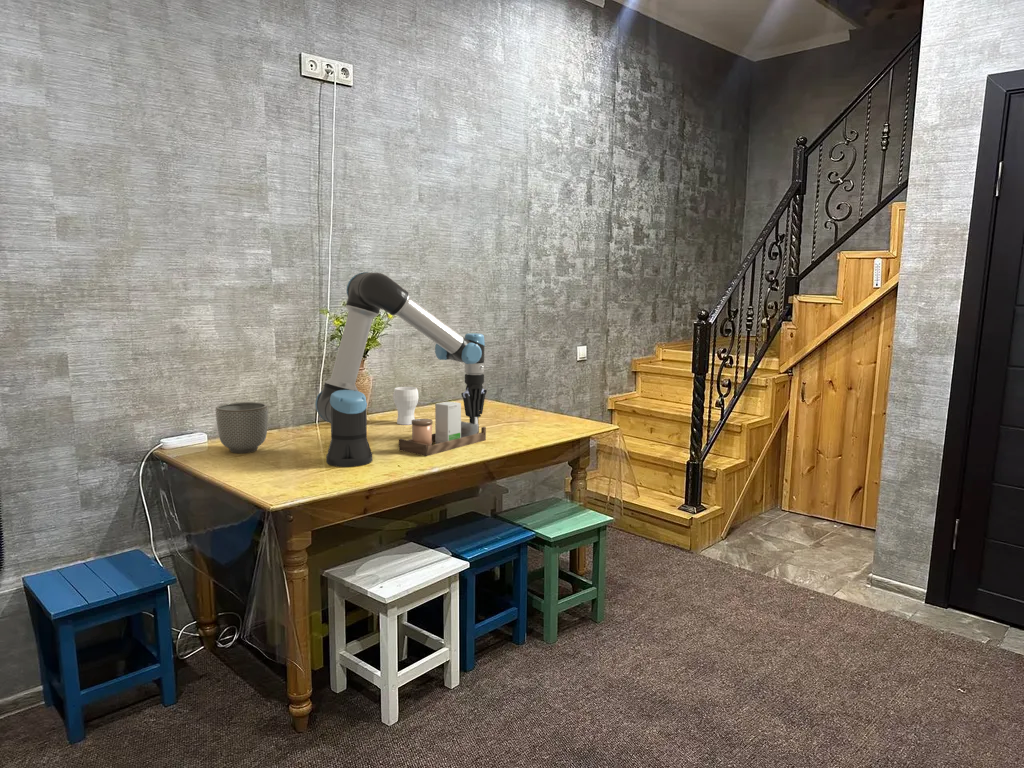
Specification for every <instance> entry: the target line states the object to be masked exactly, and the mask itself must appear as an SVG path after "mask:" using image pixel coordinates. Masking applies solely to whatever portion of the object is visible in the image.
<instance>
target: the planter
mask: <svg viewBox="0 0 1024 768" xmlns="http://www.w3.org/2000/svg"><path fill="white" fill-rule="evenodd" d="M215 416H216V418H215V419H216V424H217V425H216V426H217V431H218V437H219V441H220V442H221V444H222V445H223V446H224V447H225V448H228V449H229V451H230V452H231V453H235V454H249V453H253V452H255V451H257V450H258V447H260V446H261V445H262V444H263V443H264V442H265V440H266V438H267V435H268V434H267V433H268V425H269V424H268V423H269V406H268V404H267V403H265V402H260V401H259V402H257V401H256V402H255V401H241V402H239V401H238V402H237V401H236V402H231V403H230V402H227V403H224V404H219V405H217V406H216V407H215Z"/></svg>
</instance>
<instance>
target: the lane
mask: <svg viewBox="0 0 1024 768" xmlns="http://www.w3.org/2000/svg"><path fill="white" fill-rule="evenodd" d="M486 435H487V427H486V426H482V427H481V432H479V433H477V434H473V435H470V436H466V437H461V438H458V439H454V440H450V441H446V442H442V443H438V444H434V443H435V433H432V445H431V446H428V444H424V443H419V442H414V441H412V438H409V439H405V438H399V439H398V451H400V452H405V453H409V454H413V455H414V454H415V455H419V456H423V457H428V456H432V455H436V454H439V453H443V452H447V451H451V450H454V449H457V448H462V447H465V446H468V445H473V444H477V443H479V442H483V441H486V440H487V436H486Z"/></svg>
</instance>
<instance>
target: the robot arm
mask: <svg viewBox="0 0 1024 768" xmlns="http://www.w3.org/2000/svg"><path fill="white" fill-rule="evenodd" d="M346 295H347V301H346V303H345V307H346V309H347V312H348V313H347V317H346V322H345V324H344V329H343V332H342V335H341V338H340V344H339V346H338V350H337V354H336V357H335V361H334V365H333V369H332V372H331V374H330V375H331V376H330V378H328V379H327V380H325V381H324V385H323V389H322V390H321V391H320V392H319V393H318V394H317V396H316V398H315V402H314V403H315V410H316V412H317V414H318V415H319V417H320V418H322V420H324V422H327V423H330V437H331V439H330V441H329V442H330V444H329V447H328V451H327V453H326V456H325V460H326V461H325V462H326V464H328V465H330V466H332V467H333V466H334V467H339V468H340V467H342V468H345V467H346V468H347V467H348V468H349V467H350V468H351V467H359V466H364V465H367V464H370V463H372V462H373V452H372V450H371V446H370V444H369V443H370V442H369V440H368V438H367V437H368V436H367V435H368V434H367V433H368V431H367V430H368V429H367V427H368V424H367V421H368V420H367V417H368V416H367V412H368V411H367V407H368V402H367V397H366V395H365V394H364V392H361V391H359V389H358V387H357V385H356V383H357V378H358V375H359V371H360V367H361V363H362V360H363V357H364V353H365V351H366V350H365V349H366V345H367V342H368V339H369V338H368V337H369V335H370V330H371V327H372V323H373V320H374V319H375V318H376V317H378V316H379V314H380V311H381V310H383V311H385V312H387V313H388V314H390V315H391V316H398V318H400V319H401V320H403V321H405V322H406V323H407V324H409V326H411V327H413V328H414V329H415V330H417V331H418V332H419V333H421V334H422V335H424V336H425V337H427V338H428V339H430V340H431V341H432V342H434V343H435V346H434V354H435V356H436V358H437V359H438V360H440V361H443V360H444V361H447V360H448V361H449V360H451V361H454V362H460V363H463V364H464V373H465V374H464V384H465V385H466V387H465V391H464V392H461V397H462V399H463V400H462V401H463V407H464V413H465V416H466V417H468V418H469V423H474V424H479V418H480V417H482V414H483V411H484V405H485V399H486V394H487V389H485V388H484V386H483V384H484V383H485V374H484V373H485V347H486V343H485V336H484V334H482V333H479V332H478V333H477V332H475V333H471V332H470V333H466V334H464V336H463V335H461V334H460V333H459V332H458V331H455V330H454V329H453V328H452V327H451V326H449V325H448V324H446V323H445V322H444V321H443V320H441V319H439V317H437V316H435V315H434V314H433V313H432V312H431V311H429V310H427V309H426V308H425V307H424V306H422V305H421V304H420V303H418V302H417V301H416V300H414V299H413V298H412V297H410V292H409V291H407V290H406V289H405V288H403V287H402V286H400V284H398V283H397V281H394V280H393V279H392V278H391V277H389V276H387V275H386V274H384V273H381V272H368V271H366V272H365V271H364V272H359V273H357V274H355V275H354V276H353V275H352V277H351V278H350V279H349V281H348V282H347V285H346Z"/></svg>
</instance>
